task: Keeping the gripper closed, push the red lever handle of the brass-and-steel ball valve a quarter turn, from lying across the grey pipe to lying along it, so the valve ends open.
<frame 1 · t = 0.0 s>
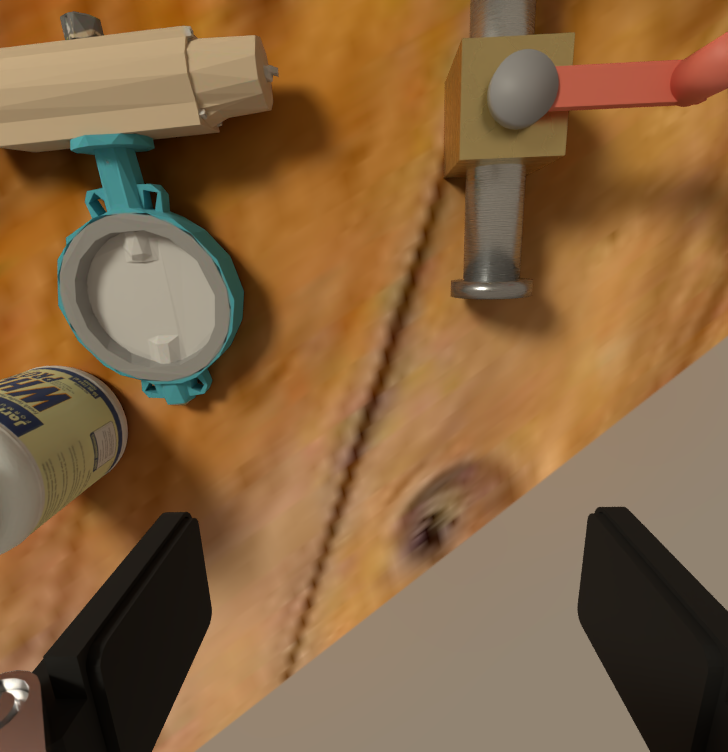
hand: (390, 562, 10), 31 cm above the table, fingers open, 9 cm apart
lever: (613, 76, 25), point 11 cm above the table, hinge at 0.0°
butterfly valve: (156, 239, 39), on the table
supplement tub: (74, 420, 44), on the table
valve body: (487, 129, 36), on the table
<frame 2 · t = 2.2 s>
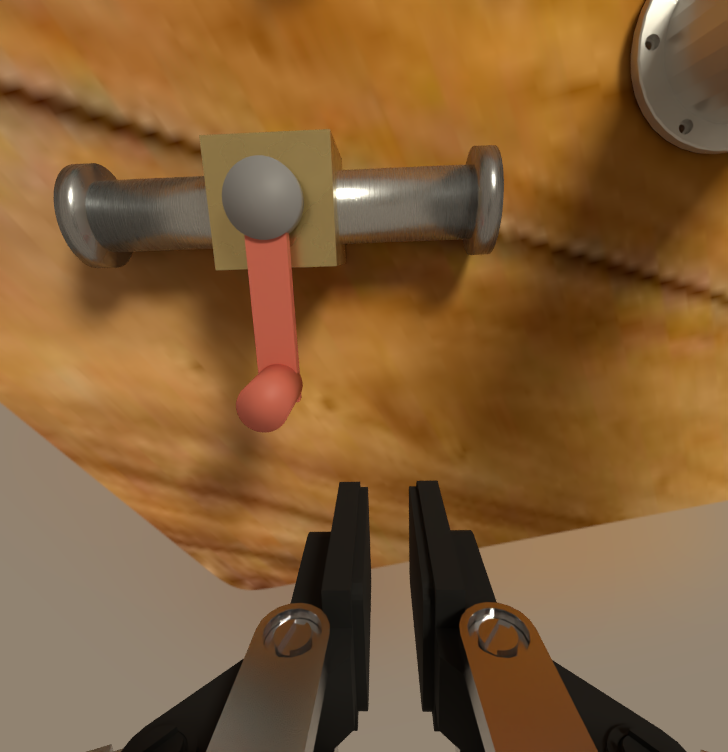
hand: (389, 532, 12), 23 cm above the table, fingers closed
lever: (263, 293, 22), point 11 cm above the table, hinge at 0.0°
valve body: (295, 214, 31), on the table
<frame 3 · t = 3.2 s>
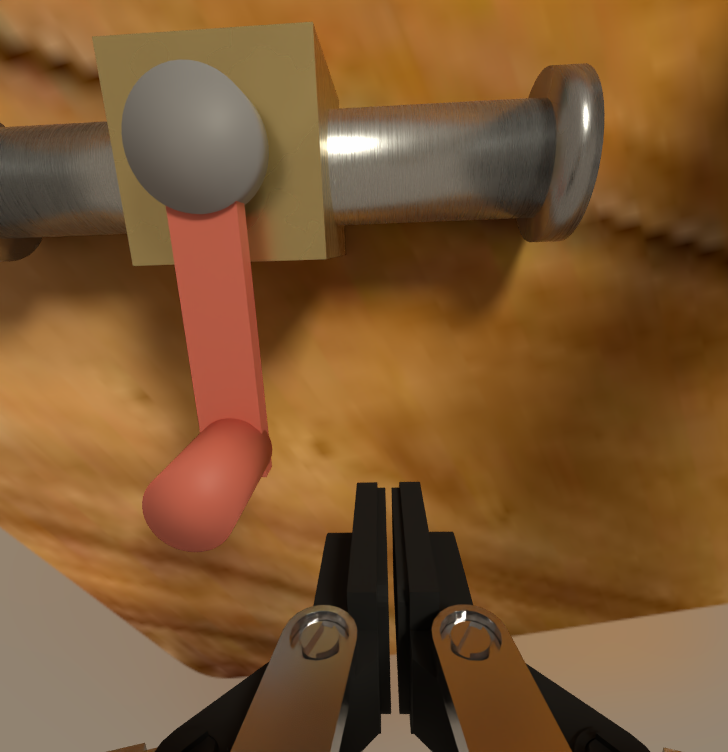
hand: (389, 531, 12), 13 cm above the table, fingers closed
lever: (196, 307, 13), point 11 cm above the table, hinge at 0.0°
valve body: (272, 184, 22), on the table
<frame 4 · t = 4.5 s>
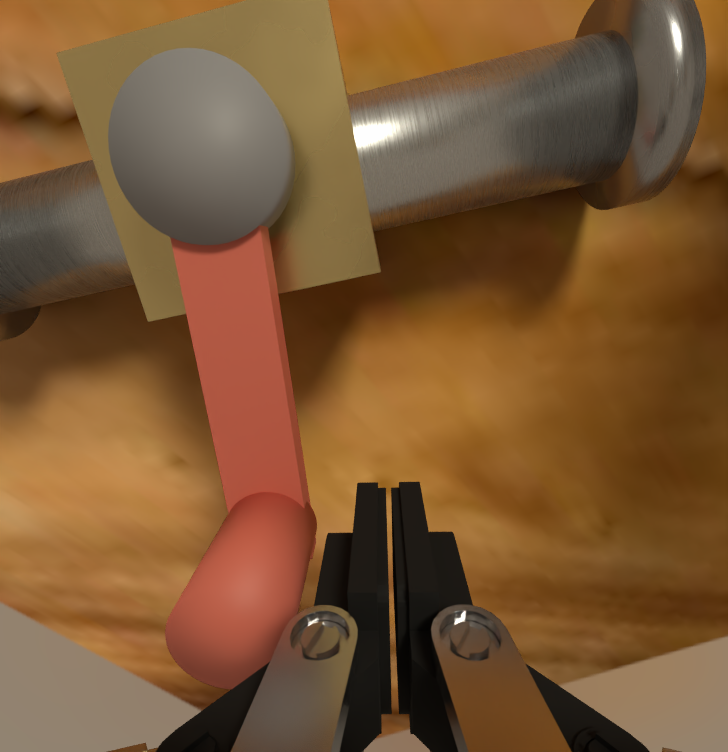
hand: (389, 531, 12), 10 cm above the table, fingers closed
lever: (218, 365, 10), point 11 cm above the table, hinge at -6.1°, touching gripper
valve body: (285, 200, 19), on the table
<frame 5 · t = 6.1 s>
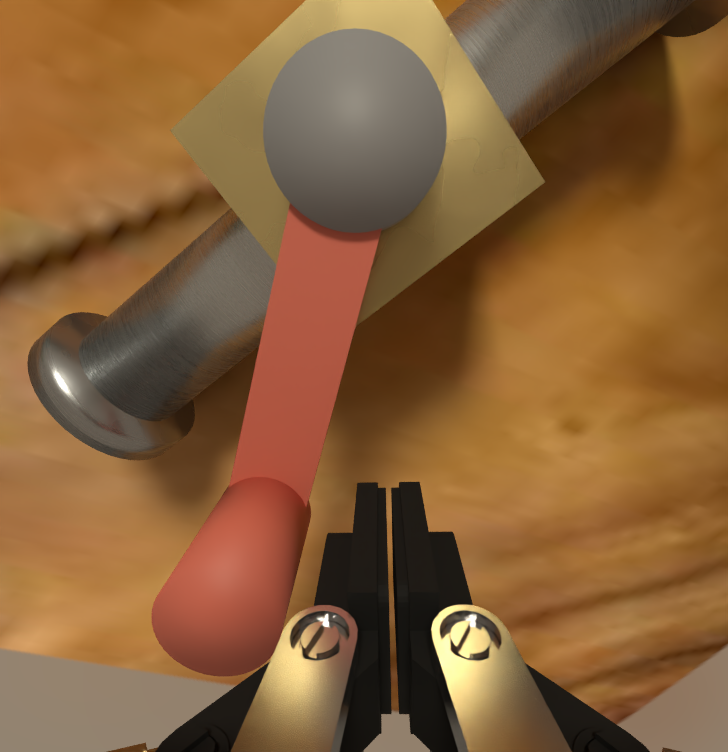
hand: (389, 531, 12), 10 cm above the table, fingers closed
lever: (297, 348, 10), point 11 cm above the table, hinge at -52.9°, touching gripper
valve body: (365, 195, 19), on the table
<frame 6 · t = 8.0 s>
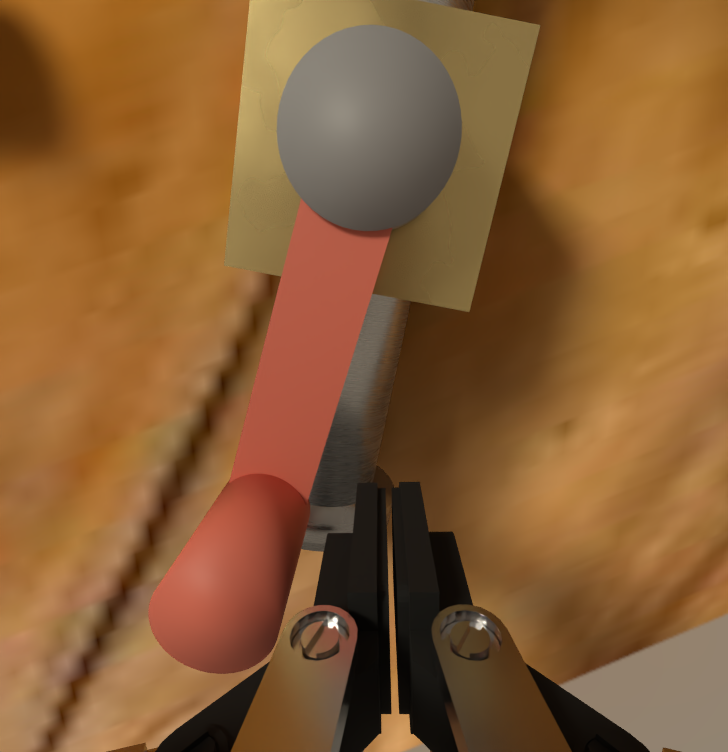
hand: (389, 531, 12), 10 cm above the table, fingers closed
lever: (303, 345, 10), point 11 cm above the table, hinge at -96.7°, touching gripper
valve body: (373, 194, 19), on the table
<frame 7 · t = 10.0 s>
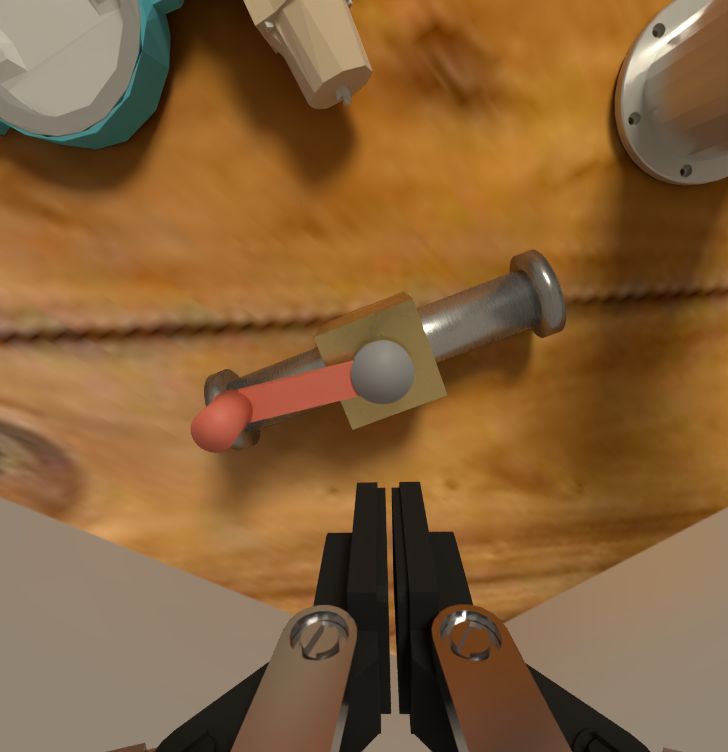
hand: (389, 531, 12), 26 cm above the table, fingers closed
lever: (309, 396, 27), point 11 cm above the table, hinge at -97.0°
butterfly valve: (136, 5, 31), on the table
valve body: (378, 346, 37), on the table
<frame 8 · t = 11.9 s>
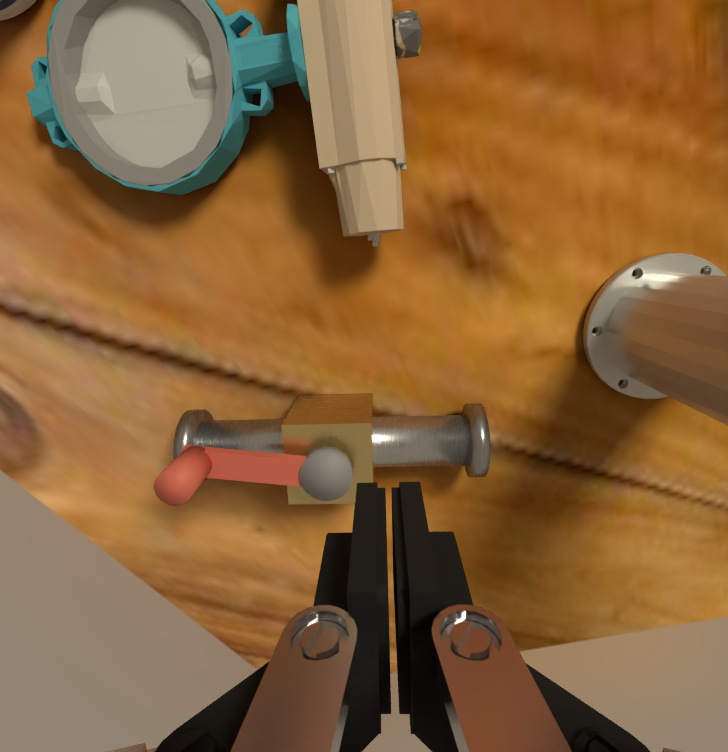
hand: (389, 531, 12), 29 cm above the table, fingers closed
lever: (260, 479, 32), point 11 cm above the table, hinge at -97.0°
butterfly valve: (228, 88, 35), on the table
valve body: (337, 428, 42), on the table
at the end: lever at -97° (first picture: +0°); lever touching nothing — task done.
